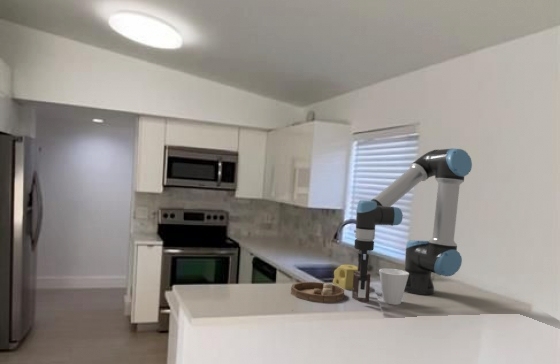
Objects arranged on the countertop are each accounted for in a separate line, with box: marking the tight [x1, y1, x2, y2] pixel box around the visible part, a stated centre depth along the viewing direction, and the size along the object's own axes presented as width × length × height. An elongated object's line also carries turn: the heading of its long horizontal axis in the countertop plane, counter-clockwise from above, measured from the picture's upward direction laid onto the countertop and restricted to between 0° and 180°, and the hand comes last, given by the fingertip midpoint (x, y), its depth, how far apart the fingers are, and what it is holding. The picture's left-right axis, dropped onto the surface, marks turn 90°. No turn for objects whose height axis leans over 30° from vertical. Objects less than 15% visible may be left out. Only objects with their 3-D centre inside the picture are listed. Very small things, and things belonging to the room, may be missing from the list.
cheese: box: [332, 264, 358, 290], centre depth 191 cm, size 10×11×10 cm
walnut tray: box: [290, 281, 345, 303], centre depth 173 cm, size 21×21×4 cm
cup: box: [378, 268, 409, 306], centre depth 174 cm, size 12×12×12 cm
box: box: [351, 271, 371, 303], centre depth 169 cm, size 6×4×12 cm
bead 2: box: [322, 288, 332, 295], centre depth 168 cm, size 4×4×4 cm
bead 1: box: [323, 282, 333, 289], centre depth 176 cm, size 4×4×4 cm
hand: (360, 293), depth 169 cm, fingers open, 13 cm apart
